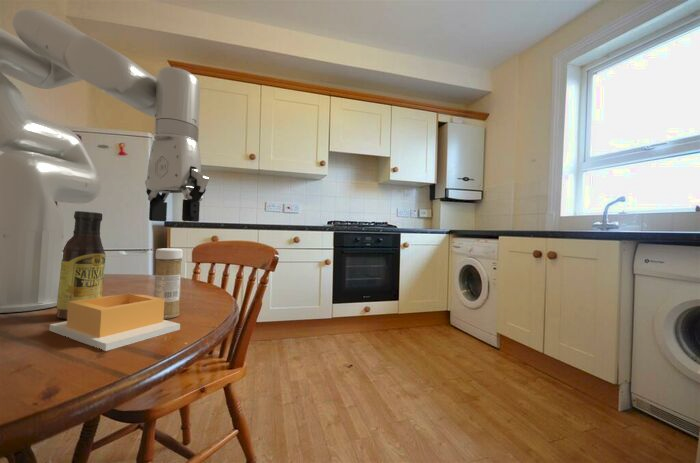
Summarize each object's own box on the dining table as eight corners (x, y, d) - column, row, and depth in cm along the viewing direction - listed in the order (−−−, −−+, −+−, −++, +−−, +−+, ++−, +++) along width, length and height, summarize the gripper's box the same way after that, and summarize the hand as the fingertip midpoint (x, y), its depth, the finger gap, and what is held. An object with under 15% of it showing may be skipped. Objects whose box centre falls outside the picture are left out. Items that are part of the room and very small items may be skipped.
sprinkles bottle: (178, 312, 61) (182, 248, 61) (179, 318, 57) (183, 249, 57) (152, 315, 58) (156, 247, 59) (151, 321, 54) (155, 249, 55)
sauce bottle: (73, 322, 52) (80, 210, 52) (46, 318, 53) (53, 209, 53) (110, 313, 58) (116, 213, 58) (85, 310, 59) (91, 212, 60)
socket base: (49, 330, 47) (51, 299, 47) (124, 315, 57) (126, 289, 57) (105, 351, 41) (107, 315, 41) (179, 329, 51) (181, 300, 51)
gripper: (130, 134, 58) (126, 219, 58) (189, 122, 51) (186, 220, 51) (167, 145, 65) (163, 222, 65) (224, 136, 58) (220, 222, 58)
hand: (173, 221), depth 58 cm, fingers open, 9 cm apart
